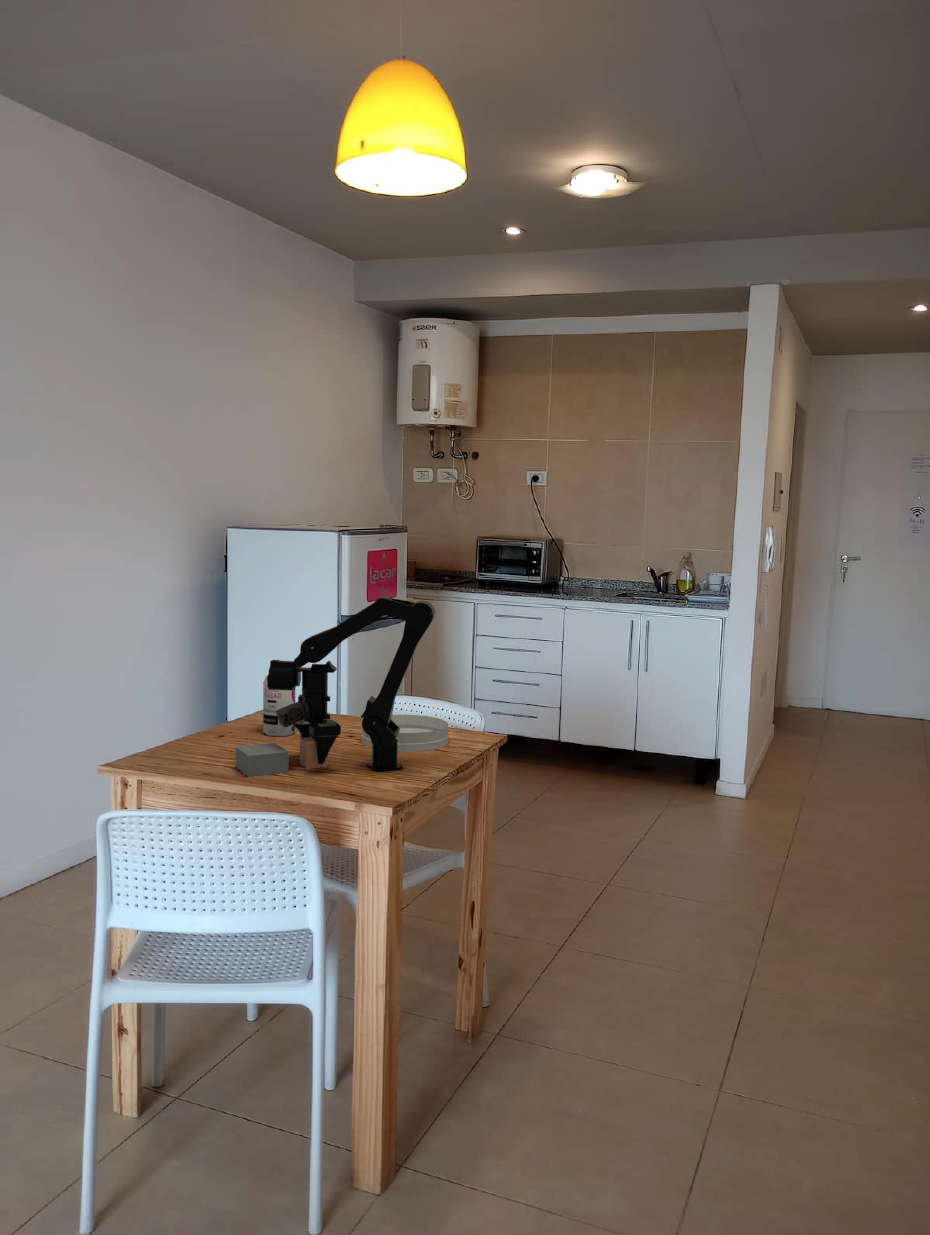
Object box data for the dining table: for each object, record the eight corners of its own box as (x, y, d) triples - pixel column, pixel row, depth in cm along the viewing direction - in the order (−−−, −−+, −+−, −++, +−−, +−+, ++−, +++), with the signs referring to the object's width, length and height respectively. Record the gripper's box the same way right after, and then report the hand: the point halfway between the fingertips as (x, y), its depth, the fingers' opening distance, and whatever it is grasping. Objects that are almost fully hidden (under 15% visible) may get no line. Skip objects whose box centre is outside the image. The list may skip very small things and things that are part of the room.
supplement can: (295, 729, 258) (295, 673, 257) (295, 736, 250) (295, 678, 249) (263, 730, 257) (263, 673, 255) (262, 737, 249) (262, 679, 247)
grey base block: (288, 774, 216) (288, 751, 215) (248, 778, 211) (248, 755, 211) (274, 764, 223) (274, 743, 223) (235, 768, 219) (235, 747, 218)
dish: (464, 740, 253) (464, 721, 252) (420, 757, 233) (421, 737, 233) (390, 729, 263) (391, 711, 262) (343, 745, 243) (343, 725, 243)
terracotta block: (328, 767, 222) (328, 740, 221) (306, 769, 219) (306, 742, 219) (320, 761, 226) (321, 736, 225) (299, 763, 224) (300, 738, 223)
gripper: (268, 686, 225) (267, 753, 227) (292, 701, 209) (292, 772, 211) (314, 683, 231) (314, 748, 232) (342, 697, 214) (341, 767, 216)
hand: (314, 759), depth 222 cm, fingers open, 9 cm apart
